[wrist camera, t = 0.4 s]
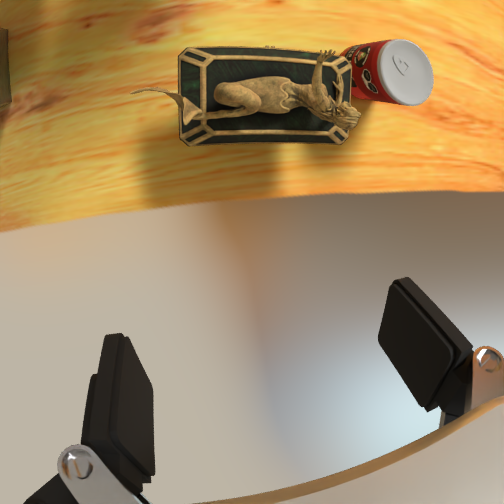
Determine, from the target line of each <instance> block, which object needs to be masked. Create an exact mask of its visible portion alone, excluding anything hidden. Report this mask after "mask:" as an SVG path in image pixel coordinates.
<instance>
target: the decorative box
mask: <svg viewBox="0 0 504 504" xmlns="http://www.w3.org/2000/svg"><path fill="white" fill-rule="evenodd" d="M331 52H332V50H329V52H328V53H327V50H325V53H322V50H320V53H318V52H310V51H301V50H291V49H279V48H275V46H272V48H269V46H266V48H264V47H234V46H217V47H188V48H186V49H185V50H184V51H183V52H182V53H181V54H179V55H178V93H173V92H170V91H168V90H166V89H162V88H158V87H146V88H142V89H138V90H134V91H132V92H130V94H135V93H138V92H142V91H146V90H150V91H159V92H164V93H166V94H167V95H168V96H170V97H172V98H173V99H174V100H175V101H176V103H177V104H178V108H179V138H180V140H182V141H183V142H184V143H185V144H186V145H187V146H201V145H220V144H249V143H306V144H335V145H341V144H342V143H343V142H344V141H345V140H346V139H347V138H348V133H349V130H351V129H353V128H354V127H355V126H356V125H357V122H358V119H359V118H360V116H361V113H360V112H357V109H355V108H353V107H352V106H351V103H350V102H351V79H352V64H351V63H350V62H349V61H348V59H347V58H346V57H344V56H338V55H334V54H335V52H336V51H334V52H333V53H332V54H331Z"/></svg>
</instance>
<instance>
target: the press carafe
mask: <svg viewBox="0 0 504 504" xmlns="http://www.w3.org/2000/svg"><path fill="white" fill-rule="evenodd" d="M11 102H12V100H11V90H10V78H9V62H8V30H7V29H3V28H0V107H2V106H4V105H6V104H9V103H11Z"/></svg>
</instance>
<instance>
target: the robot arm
mask: <svg viewBox="0 0 504 504" xmlns="http://www.w3.org/2000/svg"><path fill="white" fill-rule="evenodd" d="M378 342H379V344H380V346H381V347H382V349H383V350H384V352H385V353H386V355H387V356H388V357H389V359H390V361H391V362H392V364H393V365H394V367H395V368H396V370H397V371H398V373H399V374H400V376H401V377H402V379H403V381H404V382H405V384H406V385H407V387H408V388H409V390H410V391H411V393H412V395H413V396H414V398H415V399H416V401H417V402H418V404H419V405H420V406H421V407H424V408H425V410H426V411H427V412H429V411H431V410H433V409H435V408H437V407H438V406H439V407H440V408H441V410H442V412H441V418H440V424H439V429H437V430H435V431H433V432H431V433H430V434H428V435H426V436H424V437H422V438H420V439H418V440H416V441H414V442H412V443H410V444H408V445H405V446H403V447H401V448H399V449H397V450H395V451H392V452H390V453H388V454H385V455H383V456H381V457H378V458H376V459H373V460H371V461H368V462H366V463H363V464H361V465H358V466H355V467H352V468H350V469H347V470H344V471H341V472H339V473H335V474H332V475H329V476H326V477H323V478H320V479H316V480H313V481H309V482H306V483H302V484H298V485H295V486H291V487H287V488H283V489H279V490H274V491H270V492H265V493H260V494H255V495H250V496H244V497H238V498H232V499H226V500H218V501H211V502H203V503H194V504H504V358H503V356H502V354H501V353H500V352H499V351H497V350H496V349H494V348H492V347H489V346H482V347H479V348H477V349H476V350H475V352H474V351H473V350H472V348H473V345H472V344H471V343H470V342H469V341H468V340H467V339H466V337H465V336H464V335H463V334H462V333H461V332H460V331H459V329H458V328H457V327H456V326H455V325H454V324H453V323H452V322H451V321H450V320H449V319H448V317H447V316H446V315H445V314H444V313H443V312H442V311H441V310H440V309H439V308H438V307H437V305H436V304H435V303H434V302H433V301H431V299H430V298H429V297H428V296H427V295H426V294H425V293H424V292H423V291H422V290H421V289H420V288H419V287H418V286H417V285H416V284H415V283H414V282H413V281H412V280H411V279H410V278H409V277H405V278H401V279H397V280H394V281H393V283H392V285H391V286H390V287H389V291H388V296H387V300H386V305H385V309H384V313H383V318H382V322H381V326H380V330H379V334H378ZM57 466H58V472H59V473H58V474H57V475H55V476H54V477H53V478H52V479H51V480H50V481H48V482H47V483H46V484H45V485H44V486H42V487H41V488H40V489H39V490H38V491H36V492H35V493H34V494H33V495H32V496H30V497H29V498H28V499H27V500H26V501H25V502H24V503H23V504H152V503H151V502H150V501H149V500H148V499H147V498H146V497H145V496H144V495H143V494H142V493H141V492H142V491H143V485H142V483H151V476H154V475H155V455H154V419H153V388H152V385H151V382H150V380H149V378H148V376H147V374H146V372H145V370H144V368H143V366H142V364H141V362H140V360H139V358H138V356H137V354H136V352H135V350H134V347H133V345H132V343H131V341H130V339H129V337H124V335H123V334H122V333H117V334H109V335H106V336H105V338H104V342H103V347H102V352H101V357H100V362H99V368H98V373H97V374H93V375H92V376H91V379H90V384H89V389H88V395H87V401H86V408H85V415H84V421H83V428H82V437H81V445H79V444H77V445H71V446H70V447H68V448H66V449H65V450H64V451H63V452H62V453H61V455H60V456H59V458H58V463H57Z"/></svg>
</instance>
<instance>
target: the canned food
mask: <svg viewBox="0 0 504 504" xmlns="http://www.w3.org/2000/svg"><path fill="white" fill-rule="evenodd" d="M340 56H344V57H346V58H347V59H348V61H349V62H350V63H351V64H352V79H351V95H353V96H355V97H357V98H360V99H366V100H374V101H381V102H387V103H393V104H399V105H407V106H416V105H419V104H422V103H423V102H424V101H426V99H427V98H428V97H429V95H430V94H431V91H432V88H433V70H432V67H431V64H430V61H429V59H428V57H427V56H426V54H425V53H424V52H423V50H422V49H421V48H420V47H418V46H417V45H416V44H414V43H413V42H411V41H408V40H403V39H394V40H385V41H378V42H372V43H366V44H361V45H356V46H351V47H349V48H347V49H345V50H344V51H343V52H342V53H341V55H340Z"/></svg>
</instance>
